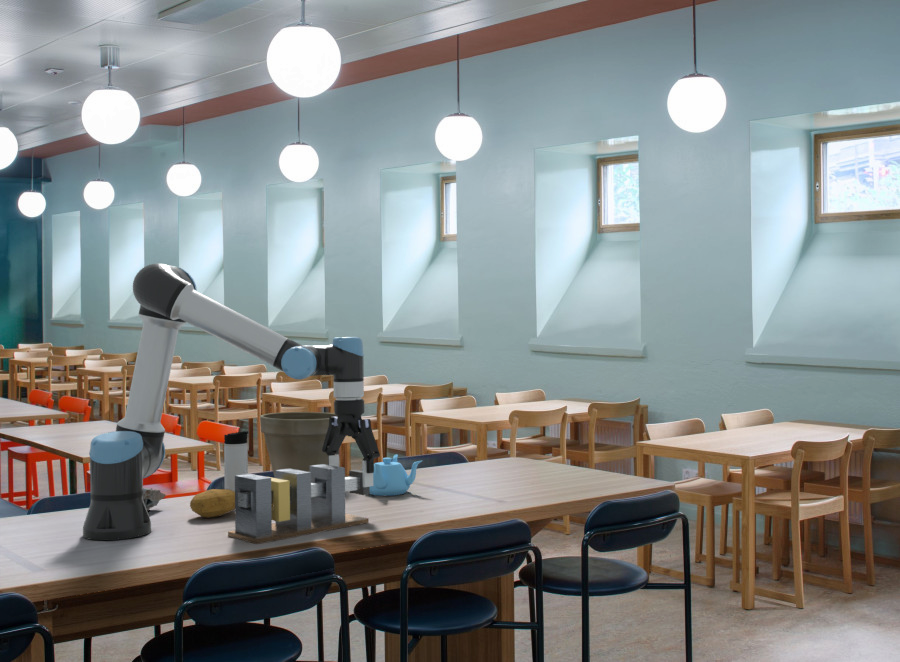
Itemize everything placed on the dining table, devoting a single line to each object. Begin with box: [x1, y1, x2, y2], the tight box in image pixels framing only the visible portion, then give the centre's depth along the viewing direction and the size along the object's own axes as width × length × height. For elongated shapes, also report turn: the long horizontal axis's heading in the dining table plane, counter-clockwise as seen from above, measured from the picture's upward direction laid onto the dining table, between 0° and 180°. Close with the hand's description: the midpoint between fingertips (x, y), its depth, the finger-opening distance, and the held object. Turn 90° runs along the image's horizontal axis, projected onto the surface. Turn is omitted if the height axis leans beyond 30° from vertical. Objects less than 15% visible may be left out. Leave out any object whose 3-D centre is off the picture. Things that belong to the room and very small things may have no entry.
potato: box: [189, 488, 235, 519], centre depth 244 cm, size 9×13×7 cm
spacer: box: [269, 476, 290, 522], centre depth 222 cm, size 3×9×9 cm, turn 44°
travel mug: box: [223, 430, 249, 492], centre depth 261 cm, size 6×7×20 cm
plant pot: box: [259, 411, 338, 478], centre depth 290 cm, size 25×25×22 cm
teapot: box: [369, 453, 422, 497], centre depth 276 cm, size 15×15×10 cm
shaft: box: [238, 469, 371, 508], centre depth 228 cm, size 35×6×6 cm, turn 134°
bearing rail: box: [227, 464, 369, 545], centre depth 227 cm, size 32×12×14 cm, turn 134°
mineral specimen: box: [143, 487, 166, 510], centre depth 252 cm, size 10×8×10 cm
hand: (350, 483), depth 238 cm, fingers open, 13 cm apart
